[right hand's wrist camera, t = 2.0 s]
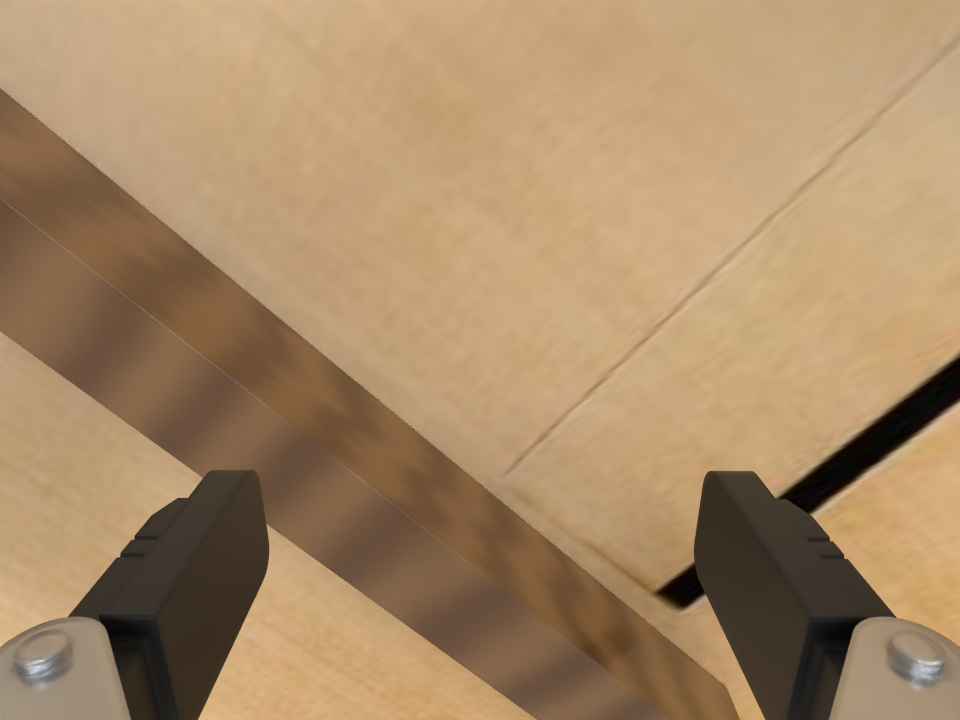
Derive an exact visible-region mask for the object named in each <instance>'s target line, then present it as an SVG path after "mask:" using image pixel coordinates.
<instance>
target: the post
mask: <svg viewBox="0 0 960 720" xmlns="http://www.w3.org/2000/svg"><path fill="white" fill-rule="evenodd" d="M0 331H1V332H2V333H4V334H5V335H6V336H8V337H9V338H11V339H12V340H13V341H15V342H16V343H17V344H19V345H20V346H22V347H23V348H24V349H26V350H27V351H28V352H30V353H31V354H33V355H34V356H35V357H37V358H38V359H40V360H41V361H42V362H44V363H45V364H46V365H48V366H49V367H51V368H52V369H53V370H55V371H56V372H58V373H59V374H60V375H62V376H63V377H64V378H66V379H67V380H69V381H70V382H71V383H73V384H74V385H75V386H77V387H78V388H80V389H81V390H82V391H84V392H85V393H87V394H88V395H89V396H91V397H92V398H93V399H95V400H96V401H98V402H99V403H100V404H102V405H103V406H105V407H106V408H107V409H109V410H110V411H111V412H113V413H114V414H116V415H117V416H118V417H120V418H121V419H122V420H124V421H125V422H127V423H128V424H129V425H131V426H132V427H134V428H135V429H136V430H138V431H139V432H140V433H142V434H143V435H145V436H146V437H147V438H149V439H150V440H152V441H153V442H154V443H156V444H157V445H158V446H160V447H161V448H163V449H164V450H165V451H167V452H168V453H169V454H171V455H172V456H174V457H175V458H176V459H178V460H179V461H181V462H182V463H183V464H185V465H186V466H187V467H189V468H190V469H192V470H193V471H194V472H196V473H197V474H198V475H200V476H201V477H203V478H204V477H205V475H206V474H207V473H208V472H209V471H211V470H255V471H256V472H257V474H258V476H259V479H260V484H261V491H262V498H263V505H264V512H265V519H266V524H268V525H269V526H270V527H272V528H273V529H275V530H276V531H277V532H279V533H280V534H281V535H283V536H284V537H286V538H287V539H288V540H290V541H291V542H292V543H294V544H295V545H297V546H298V547H299V548H301V549H302V550H304V551H305V552H306V553H308V554H309V555H310V556H312V557H313V558H315V559H316V560H317V561H319V562H320V563H321V564H323V565H324V566H326V567H327V568H328V569H330V570H331V571H333V572H334V573H335V574H337V575H338V576H339V577H341V578H342V579H344V580H345V581H346V582H348V583H349V584H351V585H352V586H353V587H355V588H356V589H357V590H359V591H360V592H362V593H363V594H364V595H366V596H367V597H368V598H370V599H371V600H373V601H374V602H375V603H377V604H378V605H380V606H381V607H382V608H384V609H385V610H386V611H388V612H389V613H391V614H392V615H393V616H395V617H396V618H398V619H399V620H400V621H402V622H403V623H404V624H406V625H407V626H409V627H410V628H411V629H413V630H414V631H415V632H417V633H418V634H420V635H421V636H422V637H424V638H425V639H427V640H428V641H429V642H431V643H432V644H433V645H435V646H436V647H438V648H439V649H440V650H442V651H443V652H445V653H446V654H447V655H449V656H450V657H451V658H453V659H454V660H456V661H457V662H458V663H460V664H461V665H462V666H464V667H465V668H467V669H468V670H469V671H471V672H472V673H474V674H475V675H476V676H478V677H479V678H480V679H482V680H483V681H485V682H486V683H487V684H489V685H490V686H491V687H493V688H494V689H496V690H497V691H498V692H500V693H501V694H503V695H504V696H505V697H507V698H508V699H509V700H511V701H512V702H514V703H515V704H516V705H518V706H519V707H521V708H522V709H523V710H525V711H526V712H527V713H529V714H530V715H532V716H533V717H534V718H536V719H537V720H740V719H739V716H738V714H737V711H736V709H735V707H734V704H733V702H732V699H731V697H730V695H729V692H728V690H727V688H726V687H725V686H724V685H723V684H721V683H720V682H719V681H718V680H717V679H715V678H714V677H713V676H712V675H711V674H709V673H708V672H707V671H706V670H705V669H703V668H702V667H701V666H700V665H698V664H697V663H696V662H695V661H694V660H692V659H691V658H690V657H689V656H688V655H686V654H685V653H684V652H683V651H681V650H680V649H679V648H678V647H677V646H675V645H674V644H673V643H672V642H671V641H669V640H668V639H667V638H666V637H665V636H663V635H662V634H661V633H660V632H658V631H657V630H656V629H655V628H654V627H652V626H651V625H650V624H649V623H648V622H646V621H645V620H644V619H643V618H641V617H640V616H639V615H638V614H637V613H635V612H634V611H633V610H632V609H631V608H629V607H628V606H627V605H626V604H624V603H623V602H622V601H621V600H620V599H618V598H617V597H616V596H615V595H614V594H612V593H611V592H610V591H609V590H608V589H606V588H605V587H604V586H603V585H601V584H600V583H599V582H598V581H597V580H595V579H594V578H593V577H592V576H591V575H589V574H588V573H587V572H586V571H584V570H583V569H582V568H581V567H580V566H578V565H577V564H576V563H575V562H574V561H572V560H571V559H570V558H569V557H568V556H566V555H565V554H564V553H563V552H561V551H560V550H559V549H558V548H557V547H555V546H554V545H553V544H552V543H551V542H549V541H548V540H547V539H546V538H544V537H543V536H542V535H541V534H540V533H538V532H537V531H536V530H535V529H534V528H532V527H531V526H530V525H529V524H528V523H526V522H525V521H524V520H523V519H521V518H520V517H519V516H518V515H517V514H515V513H514V512H513V511H512V510H511V509H509V508H508V507H507V506H506V505H504V504H503V503H502V502H501V501H500V500H498V499H497V498H496V497H495V496H494V495H492V494H491V493H490V492H489V491H488V490H486V489H485V488H484V487H483V486H481V485H480V484H479V483H478V482H477V481H475V480H474V479H473V478H472V477H471V476H469V475H468V474H467V473H466V472H464V471H463V470H462V469H461V468H460V467H458V466H457V465H456V464H455V463H454V462H452V461H451V460H450V459H449V458H448V457H446V456H445V455H444V454H443V453H441V452H440V451H439V450H438V449H437V448H435V447H434V446H433V445H432V444H431V443H429V442H428V441H427V440H426V439H424V438H423V437H422V436H421V435H420V434H418V433H417V432H416V431H415V430H414V429H412V428H411V427H410V426H409V425H407V424H406V423H405V422H404V421H403V420H401V419H400V418H399V417H398V416H397V415H395V414H394V413H393V412H392V411H391V410H389V409H388V408H387V407H386V406H384V405H383V404H382V403H381V402H380V401H378V400H377V399H376V398H375V397H374V396H372V395H371V394H370V393H369V392H367V391H366V390H365V389H364V388H363V387H361V386H360V385H359V384H358V383H357V382H355V381H354V380H353V379H352V378H351V377H349V376H348V375H347V374H346V373H344V372H343V371H342V370H341V369H340V368H338V367H337V366H336V365H335V364H334V363H332V362H331V361H330V360H329V359H327V358H326V357H325V356H324V355H323V354H321V353H320V352H319V351H318V350H317V349H315V348H314V347H313V346H312V345H311V344H309V343H308V342H307V341H306V340H304V339H303V338H302V337H301V336H300V335H298V334H297V333H296V332H295V331H294V330H292V329H291V328H290V327H289V326H287V325H286V324H285V323H284V322H283V321H281V320H280V319H279V318H278V317H277V316H275V315H274V314H273V313H272V312H271V311H269V310H268V309H267V308H266V307H264V306H263V305H262V304H261V303H260V302H258V301H257V300H256V299H255V298H254V297H252V296H251V295H250V294H249V293H247V292H246V291H245V290H244V289H243V288H241V287H240V286H239V285H238V284H237V283H235V282H234V281H233V280H232V279H231V278H229V277H228V276H227V275H226V274H224V273H223V272H222V271H221V270H220V269H218V268H217V267H216V266H215V265H214V264H212V263H211V262H210V261H209V260H207V259H206V258H205V257H204V256H203V255H201V254H200V253H199V252H198V251H197V250H195V249H194V248H193V247H192V246H190V245H189V244H188V243H187V242H186V241H184V240H183V239H182V238H181V237H180V236H178V235H177V234H176V233H175V232H174V231H172V230H171V229H170V228H169V227H167V226H166V225H165V224H164V223H163V222H161V221H160V220H159V219H158V218H157V217H155V216H154V215H153V214H152V213H150V212H149V211H148V210H147V209H146V208H144V207H143V206H142V205H141V204H140V203H138V202H137V201H136V200H135V199H134V198H132V197H131V196H130V195H129V194H127V193H126V192H125V191H124V190H123V189H121V188H120V187H119V186H118V185H117V184H115V183H114V182H113V181H112V180H110V179H109V178H108V177H107V176H106V175H104V174H103V173H102V172H101V171H100V170H98V169H97V168H96V167H95V166H94V165H92V164H91V163H90V162H89V161H87V160H86V159H85V158H84V157H83V156H81V155H80V154H79V153H78V152H77V151H75V150H74V149H73V148H72V147H70V146H69V145H68V144H67V143H66V142H64V141H63V140H62V139H61V138H60V137H58V136H57V135H56V134H55V133H54V132H52V131H51V130H50V129H49V128H47V127H46V126H45V125H44V124H43V123H41V122H40V121H39V120H38V119H37V118H35V117H34V116H33V115H32V114H30V113H29V112H28V111H27V110H26V109H24V108H23V107H22V106H21V105H20V104H18V103H17V102H16V101H15V100H14V99H12V98H11V97H10V96H9V95H7V94H6V93H5V92H4V91H3V90H1V89H0Z"/></svg>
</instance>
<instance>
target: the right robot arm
mask: <svg viewBox="0 0 960 720" xmlns="http://www.w3.org/2000/svg"><path fill="white" fill-rule="evenodd" d="M694 559H695V566H696V571H697V575H698V578H699V580H700V583H701V585H702V587H703V589H704V591H705V593H706V595H707V597H708V599H709V602H710V604H711V606H712V608H713V610H714V612H715V614H716V616H717V618H718V621H719V623H720V625H721V627H722V629H723V631H724V633H725V635H726V637H727V640H728V642H729V644H730V646H731V648H732V650H733V652H734V654H735V656H736V658H737V661H738V663H739V665H740V667H741V669H742V671H743V673H744V675H745V677H746V680H747V682H748V684H749V686H750V688H751V690H752V692H753V694H754V696H755V699H756V701H757V703H758V705H759V707H760V709H761V711H762V713H763V715H764V718H765V720H960V647H959V646H958V645H956V644H955V643H954V642H952V641H951V640H949V639H948V638H946V637H945V636H943V635H941V634H940V633H938V632H936V631H934V630H932V629H930V628H927V627H925V626H923V625H920V624H918V623H915V622H912V621H908V620H904V619H900V618H896V616H895V615H894V614H893V613H892V612H891V610H890V609H889V608H888V607H887V606H886V604H885V603H884V602H883V601H882V600H881V598H880V597H879V596H878V595H877V594H876V592H875V591H874V590H873V589H872V588H871V586H870V585H869V584H868V583H867V582H866V580H865V579H864V578H863V577H862V576H861V574H860V573H859V572H858V571H857V570H856V568H855V567H854V566H853V565H852V564H851V562H850V561H849V560H848V559H844V554H843V553H842V552H841V550H840V549H839V548H838V547H837V546H836V544H835V543H834V542H830V537H829V536H828V535H827V534H826V532H825V531H824V530H823V529H822V528H821V526H820V525H819V524H818V523H817V522H816V520H815V519H814V518H813V517H812V516H810V515H809V514H807V513H806V512H804V511H803V510H801V509H800V508H798V507H797V506H795V505H794V504H792V503H791V502H789V501H788V500H786V499H775V497H774V496H773V495H772V494H771V492H770V491H769V490H768V488H767V487H766V486H765V485H764V483H763V482H762V481H761V479H760V478H759V477H758V476H757V474H756V473H754V472H753V471H709V472H708V473H707V474H706V476H705V478H704V482H703V488H702V495H701V502H700V508H699V515H698V522H697V529H696V536H695V543H694ZM268 560H269V540H268V533H267V526H266V519H265V512H264V505H263V498H262V491H261V484H260V479H259V476H258V474H257V472H256V471H255V470H211V471H209V472H208V473H207V474H206V475H205V477H204V478H203V479H202V481H201V482H200V483H199V484H198V486H197V487H196V488H195V490H194V491H193V492H192V494H191V495H190V496H189V498H177V499H176V500H174V501H173V502H171V503H170V504H168V505H167V506H165V507H164V508H162V509H161V510H159V511H158V512H156V513H155V514H153V515H152V516H151V517H150V518H149V519H148V520H147V522H146V523H145V524H144V525H143V527H142V528H141V529H140V530H139V531H138V533H137V534H136V535H135V539H134V540H131V541H130V542H129V543H128V545H127V546H126V547H125V548H124V550H123V551H122V552H121V556H120V558H116V559H115V560H114V562H113V563H112V564H111V565H110V567H109V568H108V569H107V570H106V571H105V573H104V574H103V575H102V576H101V577H100V579H99V580H98V581H97V582H96V583H95V585H94V586H93V587H92V588H91V590H90V591H89V592H88V593H87V594H86V596H85V597H84V598H83V599H82V600H81V602H80V603H79V604H78V605H77V606H76V608H75V609H74V610H73V611H72V613H71V614H70V615H69V616H68V617H66V618H60V619H56V620H52V621H48V622H45V623H42V624H40V625H37V626H35V627H33V628H30V629H28V630H26V631H24V632H22V633H20V634H19V635H17V636H15V637H14V638H12V639H11V640H9V641H8V642H6V643H5V644H4V645H2V646H1V647H0V720H198V718H199V716H200V714H201V712H202V710H203V708H204V706H205V704H206V701H207V699H208V697H209V695H210V693H211V691H212V689H213V686H214V684H215V682H216V680H217V678H218V676H219V674H220V672H221V669H222V667H223V665H224V663H225V661H226V659H227V657H228V654H229V652H230V650H231V648H232V646H233V644H234V642H235V640H236V637H237V635H238V633H239V631H240V629H241V627H242V625H243V622H244V620H245V618H246V616H247V614H248V612H249V610H250V608H251V605H252V603H253V601H254V599H255V597H256V595H257V593H258V590H259V588H260V586H261V584H262V582H263V580H264V577H265V574H266V571H267V566H268Z"/></svg>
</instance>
